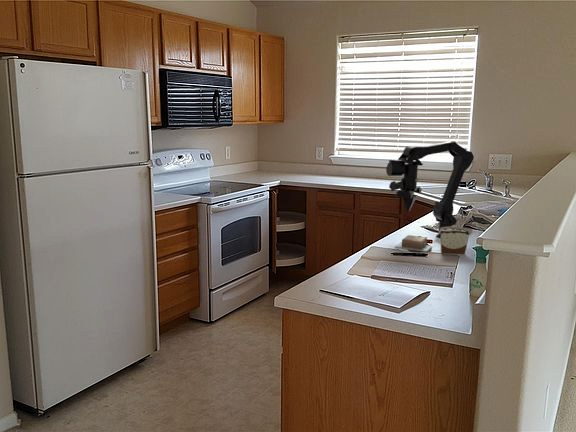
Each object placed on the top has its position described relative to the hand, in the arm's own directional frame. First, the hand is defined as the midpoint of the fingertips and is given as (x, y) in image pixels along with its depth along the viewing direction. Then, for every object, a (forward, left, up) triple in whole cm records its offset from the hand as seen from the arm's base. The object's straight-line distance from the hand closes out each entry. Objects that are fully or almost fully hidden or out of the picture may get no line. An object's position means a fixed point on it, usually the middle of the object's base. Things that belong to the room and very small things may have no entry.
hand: (407, 211), depth 233 cm
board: (+13, +7, -12) cm, 19 cm away
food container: (+13, +22, -12) cm, 28 cm away
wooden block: (+8, +7, -10) cm, 15 cm away
